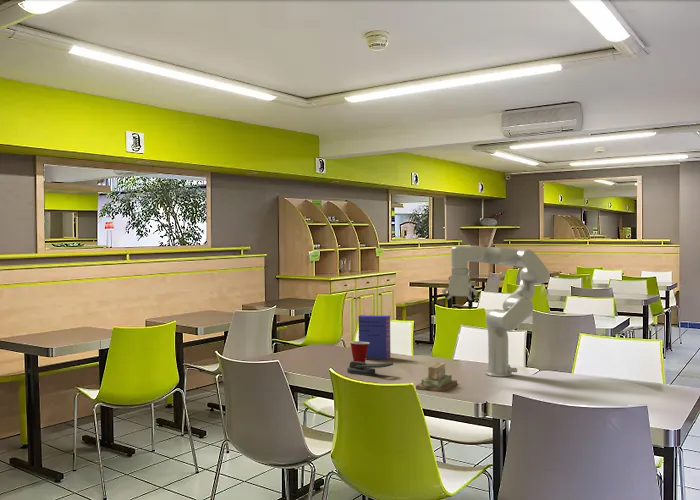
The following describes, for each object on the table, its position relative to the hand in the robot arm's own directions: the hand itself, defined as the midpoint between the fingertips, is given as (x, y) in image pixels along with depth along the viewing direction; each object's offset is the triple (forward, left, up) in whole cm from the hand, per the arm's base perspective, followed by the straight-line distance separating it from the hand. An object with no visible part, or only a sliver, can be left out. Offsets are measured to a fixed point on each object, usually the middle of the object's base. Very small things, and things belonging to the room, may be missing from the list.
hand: (460, 308), depth 299 cm
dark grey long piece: (+44, +9, -34) cm, 56 cm away
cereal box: (+60, -32, -34) cm, 76 cm away
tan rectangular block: (+5, +21, -32) cm, 38 cm away
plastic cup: (+60, -13, -34) cm, 70 cm away
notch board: (+5, +21, -33) cm, 40 cm away
